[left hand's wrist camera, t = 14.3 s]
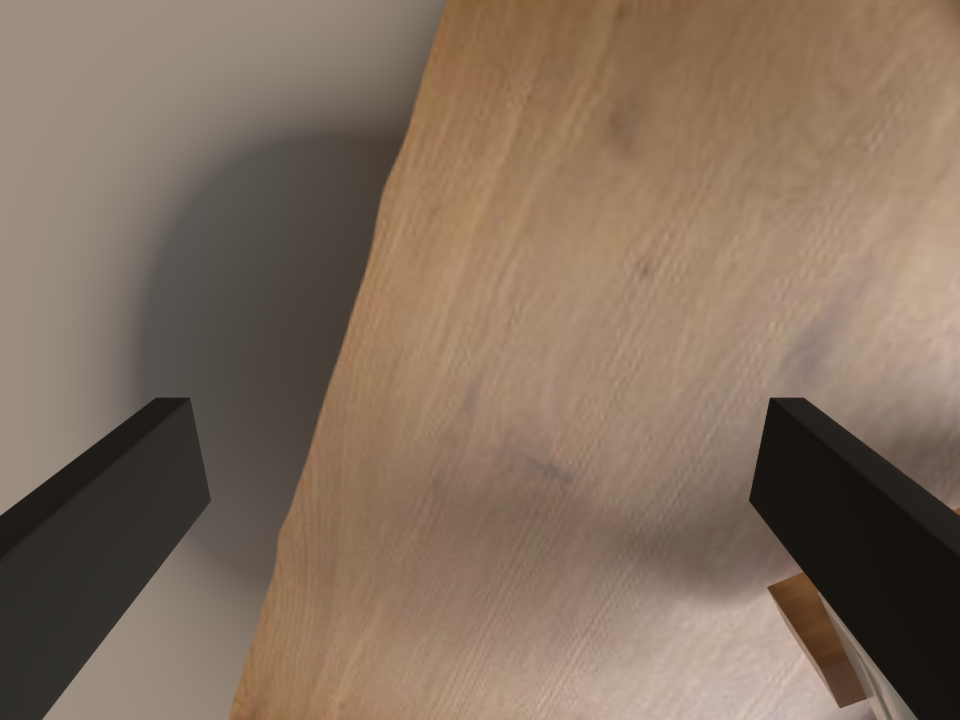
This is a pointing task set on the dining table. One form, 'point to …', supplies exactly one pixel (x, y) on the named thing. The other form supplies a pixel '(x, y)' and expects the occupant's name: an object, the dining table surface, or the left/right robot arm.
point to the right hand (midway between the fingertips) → (839, 617)
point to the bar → (818, 636)
